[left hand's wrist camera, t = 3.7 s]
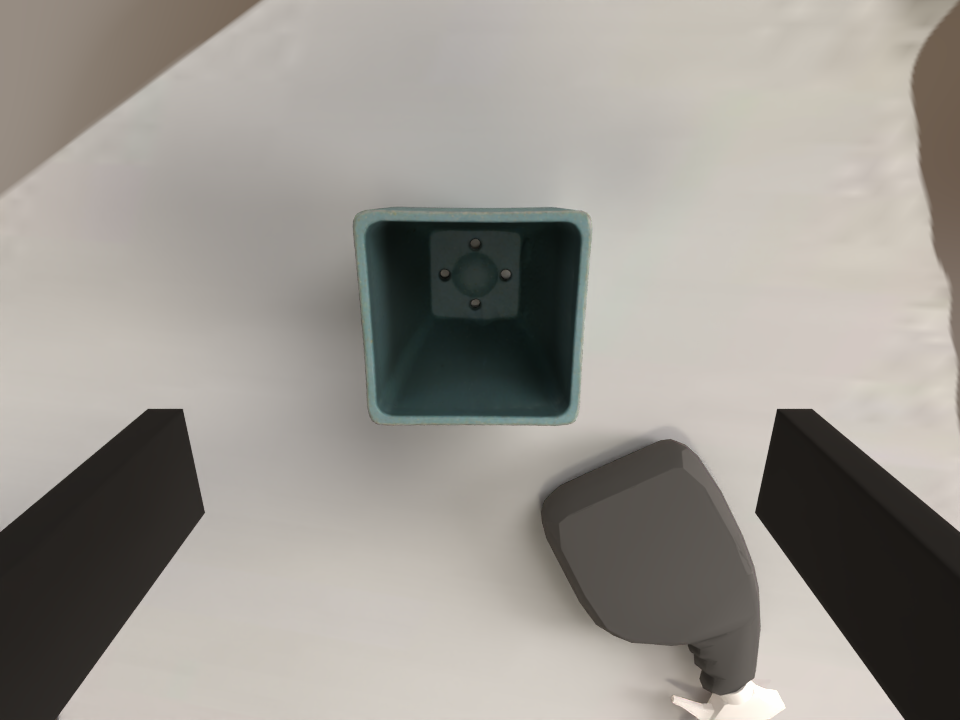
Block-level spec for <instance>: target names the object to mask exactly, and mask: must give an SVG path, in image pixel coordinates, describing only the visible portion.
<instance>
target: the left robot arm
mask: <svg viewBox="0 0 960 720" xmlns="http://www.w3.org/2000/svg"><path fill="white" fill-rule="evenodd" d="M204 513H205V511H204V506H203V502H202V497H201V492H200V488H199V483H198V478H197V474H196V469H195V464H194V459H193V455H192V450H191V445H190V441H189V436H188V431H187V427H186V422H185V417H184V413H183V409H147V410H146V411H145V412H144V413H143V414H141V415H140V416H139V417H138V418H137V419H135V420H134V421H133V422H132V423H131V424H129V425H128V426H127V427H126V428H125V429H123V430H122V431H121V432H120V433H119V434H117V435H116V436H115V437H114V438H113V439H111V440H110V441H109V442H108V443H107V444H105V445H104V446H103V447H102V448H101V449H99V450H98V451H97V452H96V453H95V454H93V455H92V456H91V457H90V458H89V459H87V460H86V461H85V462H84V463H83V464H81V465H80V466H79V467H78V468H77V469H75V470H74V471H73V472H72V473H71V474H69V475H68V476H67V477H66V478H65V479H63V480H62V481H61V482H60V483H59V484H57V485H56V486H55V487H54V488H53V489H51V490H50V491H49V492H48V493H47V494H45V495H44V496H43V497H42V498H41V499H39V500H38V501H37V502H36V503H35V504H33V505H32V506H31V507H30V508H29V509H27V510H26V511H25V512H24V513H23V514H21V515H20V516H19V517H18V518H17V519H15V520H14V521H13V522H12V523H11V524H9V525H8V526H7V527H6V528H5V529H3V530H2V531H1V532H0V720H57V717H58V715H59V714H60V712H61V711H62V710H63V708H64V707H65V705H66V704H67V703H68V701H69V700H70V699H71V697H72V696H73V694H74V693H75V692H76V690H77V689H78V687H79V686H80V685H81V683H82V682H83V681H84V679H85V678H86V676H87V675H88V674H89V672H90V671H91V670H92V668H93V667H94V665H95V664H96V663H97V661H98V660H99V658H100V657H101V656H102V654H103V653H104V652H105V650H106V649H107V647H108V646H109V645H110V643H111V642H112V640H113V639H114V638H115V636H116V635H117V634H118V632H119V631H120V629H121V628H122V627H123V625H124V624H125V622H126V621H127V620H128V618H129V617H130V616H131V614H132V613H133V611H134V610H135V609H136V607H137V606H138V605H139V603H140V602H141V600H142V599H143V598H144V596H145V595H146V593H147V592H148V591H149V589H150V588H151V587H152V585H153V584H154V582H155V581H156V580H157V578H158V577H159V575H160V574H161V573H162V571H163V570H164V569H165V567H166V566H167V564H168V563H169V562H170V560H171V559H172V557H173V556H174V555H175V553H176V552H177V551H178V549H179V548H180V546H181V545H182V544H183V542H184V541H185V540H186V538H187V537H188V535H189V534H190V533H191V531H192V530H193V528H194V527H195V526H196V524H197V523H198V522H199V520H200V519H201V517H202V516H203V515H204ZM755 513H756V515H757V516H758V517H759V519H760V520H761V522H762V523H763V524H764V526H765V527H766V528H767V530H768V531H769V533H770V534H771V535H772V537H773V538H774V540H775V541H776V542H777V544H778V545H779V546H780V548H781V549H782V551H783V552H784V553H785V555H786V556H787V557H788V559H789V560H790V562H791V563H792V564H793V566H794V567H795V569H796V570H797V571H798V573H799V574H800V575H801V577H802V578H803V580H804V581H805V582H806V584H807V585H808V587H809V588H810V589H811V591H812V592H813V593H814V595H815V596H816V598H817V599H818V600H819V602H820V603H821V605H822V606H823V607H824V609H825V610H826V611H827V613H828V614H829V616H830V617H831V618H832V620H833V621H834V622H835V624H836V625H837V627H838V628H839V629H840V631H841V632H842V634H843V635H844V636H845V638H846V639H847V640H848V642H849V643H850V645H851V646H852V647H853V649H854V650H855V652H856V653H857V654H858V656H859V657H860V658H861V660H862V661H863V663H864V664H865V665H866V667H867V668H868V670H869V671H870V672H871V674H872V675H873V676H874V678H875V679H876V681H877V682H878V683H879V685H880V686H881V687H882V689H883V690H884V692H885V693H886V694H887V696H888V697H889V699H890V700H891V701H892V703H893V704H894V705H895V707H896V708H897V710H898V711H899V712H900V714H901V715H902V717H903V718H904V719H905V720H960V532H959V531H958V530H957V529H955V528H954V527H953V526H952V525H951V524H949V523H948V522H947V521H946V520H945V519H943V518H942V517H941V516H940V515H939V514H937V513H936V512H935V511H934V510H933V509H931V508H930V507H929V506H928V505H927V504H925V503H924V502H923V501H922V500H921V499H919V498H918V497H917V496H916V495H915V494H913V493H912V492H911V491H910V490H909V489H907V488H906V487H905V486H904V485H903V484H901V483H900V482H899V481H898V480H897V479H895V478H894V477H893V476H892V475H891V474H889V473H888V472H887V471H886V470H885V469H883V468H882V467H881V466H880V465H879V464H877V463H876V462H875V461H874V460H873V459H871V458H870V457H869V456H868V455H867V454H865V453H864V452H863V451H862V450H861V449H859V448H858V447H857V446H856V445H855V444H853V443H852V442H851V441H850V440H849V439H847V438H846V437H845V436H844V435H843V434H841V433H840V432H839V431H838V430H837V429H835V428H834V427H833V426H832V425H831V424H829V423H828V422H827V421H826V420H825V419H823V418H822V417H821V416H820V415H819V414H817V413H816V412H815V411H814V410H813V409H777V413H776V417H775V422H774V427H773V431H772V436H771V441H770V445H769V450H768V455H767V459H766V464H765V469H764V474H763V478H762V483H761V488H760V492H759V497H758V502H757V506H756V511H755Z"/></svg>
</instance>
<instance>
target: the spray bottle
mask: <svg viewBox="0 0 960 720" xmlns="http://www.w3.org/2000/svg"><path fill="white" fill-rule="evenodd" d="M541 516H542V523H543V527H544V531H545V535H546V538H547V540H548V542H549V544H550V546H551V548H552V550H553V552H554V554H555V556H556V558H557V560H558V562H559V563H560V565H561V567H562V569H563V571H564V573H565V575H566V577H567V579H568V581H569V583H570V585H571V587H572V589H573V590H574V592H575V594H576V596H577V598H578V600H579V602H580V603H581V605H582V606H583V607H584V609H585V610H586V611H587V613H588V614H589V615H590V617H591V618H592V620H593V621H594V622H595V624H596V625H598V626H599V627H601V628H603V629H604V630H606V631H607V632H609V633H611V634H612V635H614V636H616V637H619V638H621V639H624V640H626V641H629V642H631V643H644V644H657V645H670V646H673V645H684V644H688V647H689V650H690V651H691V652H692V653H694V660H695V664H696V665H697V666H698V667H699V668H701V669H702V671H701V675H700V681H701V684H702V687H703V688H704V689H706V690H708V691H710V692H711V693H712V695H711V697H710V699H709V701H708V703H704V704H702V703H698V702H695V701H691V700H688V699H685V698H681V697H678V696H674V695H673V696H672V697H671V700H672V703H674V704H676V705H679V706H681V707H682V708H684V709H685V710H687V711H688V712H690V713H691V714H693V715H694V716H696V717H697V720H769V719H771V718H772V717H773V716H775V715H776V714H778V713H779V712H780V711H782V710H783V709H784V708H786V707H785V705H784V703H783V702H782V700H781V698H780V696H779V694H778V692H777V690H771V689H764V688H762V687H759V686H757V685H755V684H754V683H753V682H752V681H751V680H752V679H753V678H754V677H755V672H756V665H757V655H758V646H759V637H760V627H761V626H760V605H759V587H758V583H757V578H756V573H755V568H754V565H753V562H752V559H751V557H750V554H749V551H748V549H747V546H746V543H745V540H744V538H743V535H742V533H741V531H740V529H739V527H738V525H737V523H736V521H735V519H734V517H733V515H732V513H731V511H730V509H729V506H728V504H727V502H726V500H725V498H724V496H723V494H722V492H721V490H720V489H719V487H718V486H717V484H716V483H715V481H714V480H713V478H712V477H711V475H710V474H709V472H708V471H707V469H706V467H705V466H704V464H703V463H702V461H701V460H700V458H699V457H698V456H697V455H696V454H695V453H694V452H693V451H692V450H691V449H689V448H688V447H687V446H686V445H685V444H682V443H679V442H677V441H674V440H671V439H669V440H660V441H658V442H656V443H654V444H651V445H649V446H647V447H645V448H642V449H640V450H638V451H636V452H633V453H631V454H629V455H627V456H624V457H622V458H620V459H618V460H616V461H613V462H611V463H609V464H607V465H604V466H602V467H600V468H598V469H595V470H593V471H591V472H589V473H586V474H584V475H582V476H580V477H578V478H576V479H573V480H571V481H569V482H567V483H565V484H563V485H561V486H559V487H558V488H557V489H556V490H555V491H554V492H553V493H552V494H551V495H550V496H549V497H548V498H547V499H546V500H545V501H544V504H543V507H542V510H541Z"/></svg>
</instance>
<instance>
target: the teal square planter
mask: <svg viewBox="0 0 960 720" xmlns="http://www.w3.org/2000/svg"><path fill="white" fill-rule="evenodd" d="M353 235H354V246H355V255H356V265H357V276H358V284H359V297H360V308H361V322H362V331H363V341H364V343H363V344H364V355H365V357H364V358H365V372H366V387H367V408H368V412H369V416H370V418H371V420H372V421H373V422H375V423H376V424H379V425H393V426H394V425H537V426H558V425H568V424H571V423H573V422H575V421H576V419H577V416H578V414H579V408H580V392H581V371H582V353H583V339H584V321H585V310H586V298H587V286H588V274H589V261H590V251H591V240H592V221H591V218H590V216H589V215H588V213H586V212H583V211H578V210H571V209H563V208H553V207H541V208H415V207H390V208H381V209H372V210H365V211H362V212H360V213H358V214H357V215H356V216H355V218H354V221H353ZM473 239H478V240H479V241H480V246H479V248H477V249H474V248H472V247H471V245H470V242H471V241H472V240H473ZM443 269H446V270H448V271H449V273H450V275H449V277H448V278H447V279H444V278H442V277H441V275H440V272H441V271H442V270H443ZM505 269H506V270H509V271H510V272H511V276H510V277H509V278H508V279H503V278H502V277H501V272H502V271H503V270H505ZM473 299H478V300H479V301H480V306H479V307H473V306H472V305H471V301H472V300H473Z"/></svg>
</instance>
